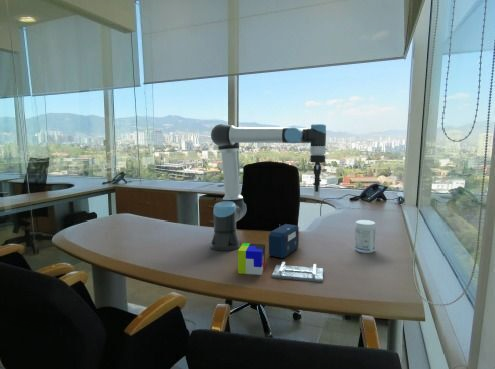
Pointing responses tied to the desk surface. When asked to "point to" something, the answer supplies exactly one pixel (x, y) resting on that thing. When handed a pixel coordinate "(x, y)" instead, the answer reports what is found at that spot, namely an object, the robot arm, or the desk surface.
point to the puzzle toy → (251, 258)
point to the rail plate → (298, 273)
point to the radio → (283, 240)
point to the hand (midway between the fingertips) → (316, 195)
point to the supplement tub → (365, 236)
